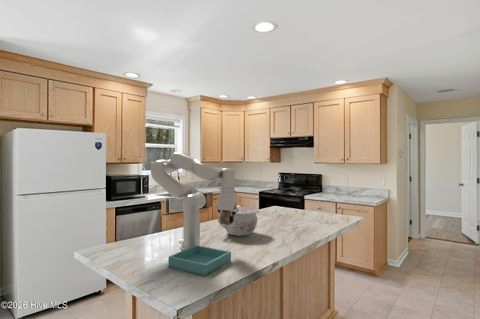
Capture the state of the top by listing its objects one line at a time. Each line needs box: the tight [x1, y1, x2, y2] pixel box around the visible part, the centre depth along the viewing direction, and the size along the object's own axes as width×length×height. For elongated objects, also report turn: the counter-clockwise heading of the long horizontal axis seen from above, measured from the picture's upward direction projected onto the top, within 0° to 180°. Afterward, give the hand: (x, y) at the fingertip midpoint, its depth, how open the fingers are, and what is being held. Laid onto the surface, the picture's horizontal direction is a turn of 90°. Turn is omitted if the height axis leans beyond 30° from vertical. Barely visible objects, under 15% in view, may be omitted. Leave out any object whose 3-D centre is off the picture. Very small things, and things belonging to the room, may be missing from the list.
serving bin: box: [167, 245, 232, 277], centre depth 143 cm, size 22×22×5 cm
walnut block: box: [221, 210, 232, 225], centre depth 163 cm, size 5×5×7 cm
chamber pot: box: [217, 204, 260, 237], centre depth 203 cm, size 28×28×21 cm
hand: (226, 221), depth 163 cm, fingers closed on walnut block, 5 cm apart
